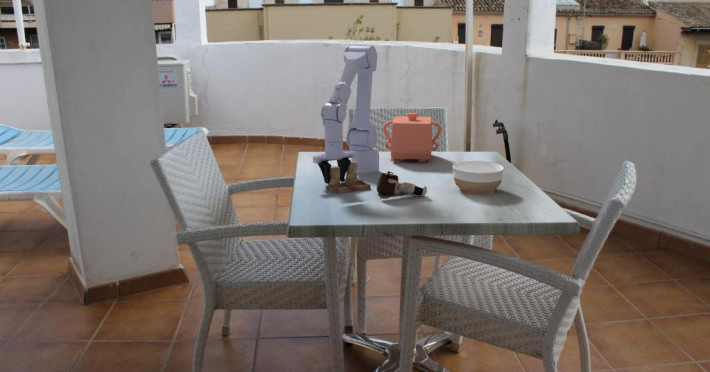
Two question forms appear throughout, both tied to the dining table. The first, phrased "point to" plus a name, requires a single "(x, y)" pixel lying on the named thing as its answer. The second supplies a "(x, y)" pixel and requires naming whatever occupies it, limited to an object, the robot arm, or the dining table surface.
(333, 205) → the dining table surface
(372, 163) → the robot arm
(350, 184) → the socket board
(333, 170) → the beige rounded cylinder
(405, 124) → the lidded jar with handles
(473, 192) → the bowl
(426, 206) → the dining table surface
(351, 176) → the beige short cylinder
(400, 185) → the figurine
